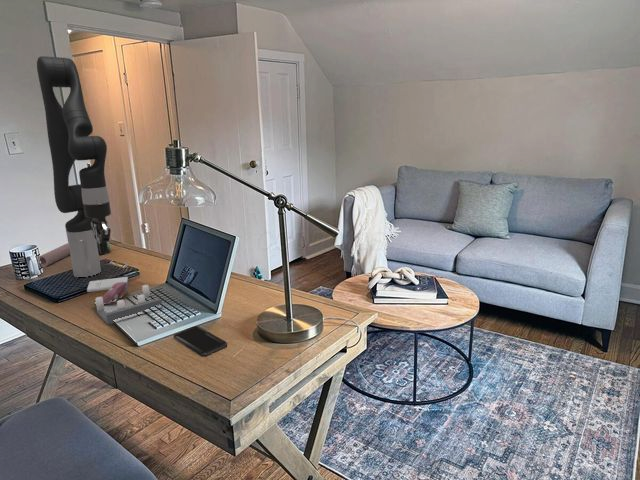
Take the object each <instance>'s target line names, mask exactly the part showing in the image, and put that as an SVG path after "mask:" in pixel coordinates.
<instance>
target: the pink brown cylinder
mask: <svg viewBox="0 0 640 480" xmlns="http://www.w3.org/2000/svg"><path fill="white" fill-rule="evenodd" d="M69 255H70V250H69V245H68V242H67V243H65V244H63V245H61V246H59V247H56V248H54V249H52V250H50V251H47V252H46V253H44V254H42V255H39V256H40V261H41V264H42V266H41V268H46V267H47V266H50V265H52V264H54V263H56V262H58V261H60V260H62V259H64V258H66V257H68V256H69Z"/></svg>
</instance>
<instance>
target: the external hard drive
mask: <svg viewBox="0 0 640 480" xmlns="http://www.w3.org/2000/svg"><path fill="white" fill-rule="evenodd" d="M122 281H123V282H126V283H128V282H129V277H128V276H124V277H123V276H122V277H115V278H113V277H112V278H106V279H105V278H104V279H97V280H91V281H89V283H88V286H87V288H86V292H87V293H91V292H96V291H98V292H99V291H106V290H107V291H108V290H109V289H110V288H111V287H112V286H113V285H114V284H116V283H119V282H122ZM128 284H129V283H128Z"/></svg>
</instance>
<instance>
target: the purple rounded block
mask: <svg viewBox="0 0 640 480" xmlns="http://www.w3.org/2000/svg"><path fill="white" fill-rule="evenodd" d="M129 288H130V283H126V282H123V281H122V282H119V283H116V284H114V285H113V286H112V287H111V288H110V289H108V290H107V291H106V292H105V293H104V295H101V297H103V303H107V304H108V303H110V302H112V301H114V300H115V299H117V298H118V297H121V296H123V297H124V295H125V293H126V292H127V291H128V290H129ZM118 299H119V298H118ZM118 299H117V300H118ZM111 300H112V301H111Z"/></svg>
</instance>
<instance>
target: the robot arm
mask: <svg viewBox="0 0 640 480" xmlns="http://www.w3.org/2000/svg"><path fill="white" fill-rule="evenodd" d="M36 69H37V70H36V71H37V75H38V81H39V87H40V91H41V96H42V101H43V105H44V112H45V120H46V121H45V122H46V130H47V131H46V132H47V140H48V144H49V150H50V156H51V164H52V171H53V172H52V173H53V189H54V191H53V192H54V193H53V194H54V200H55V204H56V207H57V209H58V211H59V212H60V213H62V214H69V213H74V212H75V213H77V214H75V216H74V217H73V218H71V219H69V220H67V221H66V222H65V225H64V226H65V232H66V238H67V243H68V245H69V250H70V261H71V267H72V273H73V276H74V277H75V278H78V277H86V278H89V277H88V276H91V277H94V276H93V275H95V276H97V275H96V274H98V273H99V274H101V273H102V268H101V261H100V255H99V254H98V247H97V242H98V244H99V250H100V253H101V254H104V255H107V253H108V247H107V242H109V243H110V239H111V238H110V237H111V228H109V222H108V221H107V220H106V218H107V217H109V216H111V214H112V212H111V211H112V210H111V205H110V198H109V191H108V188H107V184H106V176H105V165H106V158H107V152H108V151H107V150H108V145H107V142H106V140H105V139H104V138H103V137H102V136H99V135H91V134H93V131H94V128H93V125H92V124H93V123H92V121H91V119H90V115H89V114H88V113H89V112H88V111H87V108H86V103H85V101H84V95H83V89H82V84H81V79H80V76H79V75H80V74H79V72H78V71H79V70H78V69H77V66H76V63H75V62H74V60H73V59H71V58H69V57H61V56H59V57H58V56H44V55H43V56H39V57H38V58H37V61H36ZM54 88H70V90H69V94H68V96H67V98H66V99H65V102H64V103H63V106H62V105H61V104H60V102H59V101H58V99H57V96H56V93H55V92H54ZM92 160H94V162H93V163H92V164H91V165H90V166H87V167H84V168H81V169H80V170H79V172H78V174H79V175H78V176H79V182H80V184H71V185H69V183H70V182H69V178H70V173H71V169H72V167H73V166H74V163H75V161H92ZM96 240H97V241H96ZM108 254H109V253H108ZM100 272H101V273H100ZM99 274H98V275H99Z"/></svg>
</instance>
